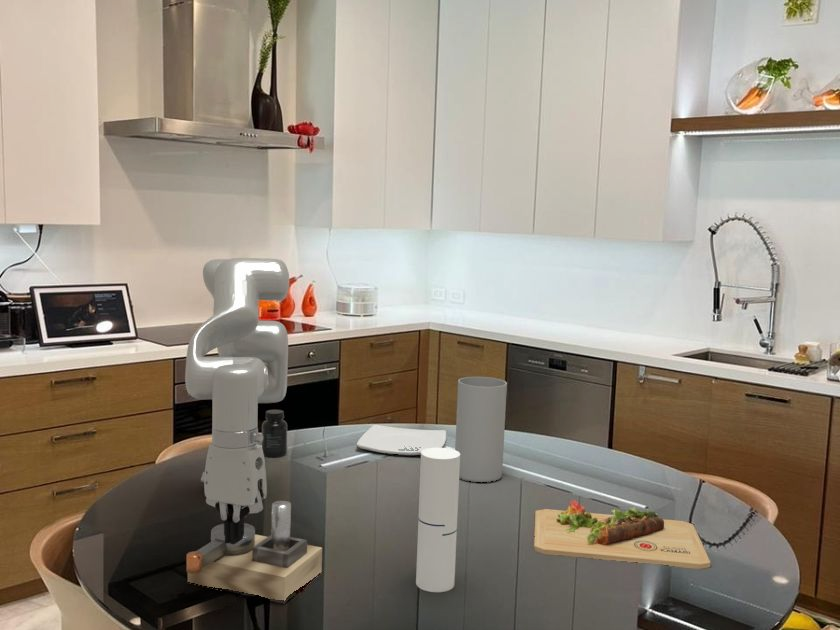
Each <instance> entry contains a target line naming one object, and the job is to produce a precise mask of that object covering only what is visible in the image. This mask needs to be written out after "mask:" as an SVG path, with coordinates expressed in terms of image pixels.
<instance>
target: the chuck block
mask: <svg viewBox="0 0 840 630" xmlns="http://www.w3.org/2000/svg"><path fill="white" fill-rule="evenodd" d="M322 564H323V547H321V546H315V545H311V544H308V539H304V538H303V539H302V538H297V537H294V536H290V549H289V550H287V551H286V552H285V551H280V550H275V549H271V534H270V535H269V536H265V535H260V534H256V533H255V546H254V547H253V548H252V550H250V551H248V552H245V553H241V554H232V555H228V554H223V555H222V556H220V557H219V558H217V559H215V560H214V561H212V562H211V563H209V564H208V565H206V566H205V567H203V568H202V572H200V573H198V574H189V573H187V583H188V582H190V583H189V584H191V583H195V584H194V585H196V584H198V585H197V586H200V585H202V586H201V587H204V586H207V587H206V588H209V587H213V588H214V587H215V588H222V589H229V590H233V591H239V592H244V593H248V594H254V595H259V596H261V597H265V598H268V599H275V600H284V601H285V600H286V598H287V597H288V596H289V595H290V594H292V593H293V592H294V591H296V590H298V589H299V588H300V587H302V586H304V585H305V584H306V583H308V582H309V581H310V580H312V579H313V578H314V577H316V576H317V575H318V574H319V573H321V572H322V570H323V567H322V566H323V565H322ZM322 573H323V572H322ZM322 573H321V574H322ZM317 577H318V576H317ZM317 577H316V578H317ZM213 588H212V589H213Z"/></svg>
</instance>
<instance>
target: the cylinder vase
mask: <svg viewBox="0 0 840 630" xmlns="http://www.w3.org/2000/svg"><path fill="white" fill-rule="evenodd" d="M457 381H458V382H457V396H456V397H457V400H456V401H457V402H456V419H455V420H456V422H455V425H456V426H455V444H454V445H455V447H454V448H455V449H454V450H456V451H458V452H459V453H460V470H459V480H463V481H466V482H469V481H471V482H470V483H476V482H481V483H480V484H483V483H482V482H487V483H492V482H491V481H493V482H496V480H497V481H498V480H500V479H501V478H502V477H503V465H504V449H505V448H504V447H505V446H504V445H505V429H506V428H505V426H506V410H507V409H506V407H507V393H508V392H507V391H508V390H507V389H508V382H507V381H506V380H503V379H500V378H495V377H487V376H466V377H461V378H459V379H458V380H457Z"/></svg>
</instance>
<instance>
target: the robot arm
mask: <svg viewBox="0 0 840 630" xmlns="http://www.w3.org/2000/svg"><path fill="white" fill-rule="evenodd" d="M202 268H203V270H202V278H203V283H204V286H205V287H206V289H207V290H208V292H209V294H210V295H211V296H212V298H213V314H212V315H211V316H210V317H209V318H208V319H206V320H205V321H204V322H202V324H200V326H199V327H198V328H197V329H196V330H195V332H194V333H193V335H192V336H191V338H190V339H189V343H188V346H187V351H186V358H185V359H186V360H185V374H184V380H185V386H186V387H185V388H186V390H187V393H188V394H189V396H190V397H192V398H193V399H197V400H211V401H212V403H211V404H212V407H211V408H212V413H211V414H212V415H211V416H212V417H211V419H212V421H211V422H212V423H211V425H212V428H211V435H212V436H211V443H210V444H209V446H208V448H207V449H208V450H207V455H206V461H205V467H204V469H205V470H204V471H203V472H202V475H201V478H200V482H201V483H204V484H203V488H204V497H206V498H205V503H206V504H207V505H209V506H212V507H213V508H216V510H217V511H218V513H219V514H220V519H221V520H222V521H223V523H224V535H225V543H230V544H233V545H234V544H235V543H237V542H239V541H240V540H242V539H243V536H244V523H245V518H247V517H248V515H250V514H258V513H260V512H262V511H263V509H264V504H263V502H262V501H263V500H265V499H266V498H267V494H268V493H267V491H268V488H267V487H268V486H267V482H268V481H267V470H266V461H265V456H264V454H263V450H262V444H258V443H262V441H263V435H262V433H259V428H258V414H259V413H258V411H259V410H258V408H259V407H258V406H259V405H258V404H272V403H273V404H275V403H279V402H281V401H283V400H284V399H285V397H286V394H287V388H288V371H289V370H288V367H289V365H288V364H289V362H288V361H289V337H288V331H287V328H286V327H285V325H284V324H283V323H282V322H280V321H277V320H260V319H259V318H260V317H259V316H260V314H259V311H260V310H259V309H260V308H259V301H275V302H276V301H278V302H279V301H280V302H282V301H284V300H286V298H287V297H288V294H289V289H290V274H289V270H288V267H287V265H286V263H285V262H284V261H283V260H282V259H278V258H256V257H255V258H254V257H253V258H252V257H234V258H229V259H227V258H225V259H224V258H222V259H221V258H219V259H218V258H217V259H211V260H209V261H207V262H206V263H204V265H203V267H202ZM216 348H217V349H216ZM215 349H216V350H217V353H218V356H206V355H207V354H208V353H209V352H211V351H213V350H215Z"/></svg>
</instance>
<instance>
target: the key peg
mask: <svg viewBox="0 0 840 630" xmlns="http://www.w3.org/2000/svg"><path fill="white" fill-rule="evenodd" d="M291 513H292V503H291V502H290V501H286V500H276V501H274V502H272V503H271V525H270V526H271V527H270V528H271V529H270V530H271V531H270V533H271V534H270V535H271V549H275V550H280V551H285V552H286V551H287V550H289V549H290V537H291V520H292V519H291V517H292V516H291V515H292V514H291Z"/></svg>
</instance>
